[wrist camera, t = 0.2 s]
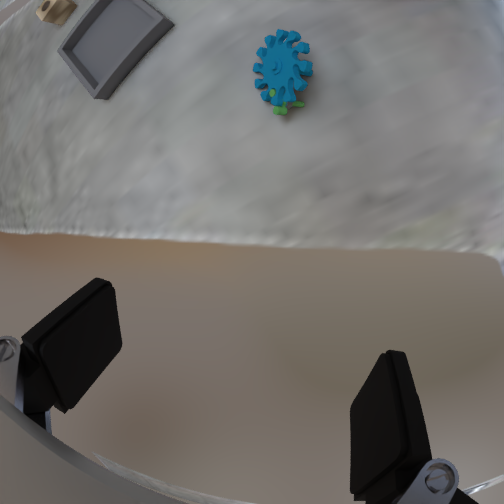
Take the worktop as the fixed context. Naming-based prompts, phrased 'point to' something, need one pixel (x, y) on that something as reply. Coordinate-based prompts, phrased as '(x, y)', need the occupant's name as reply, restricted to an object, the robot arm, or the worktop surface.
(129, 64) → the tray
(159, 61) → the worktop surface
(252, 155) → the worktop surface
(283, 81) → the gear
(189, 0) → the worktop surface
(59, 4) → the maple block
